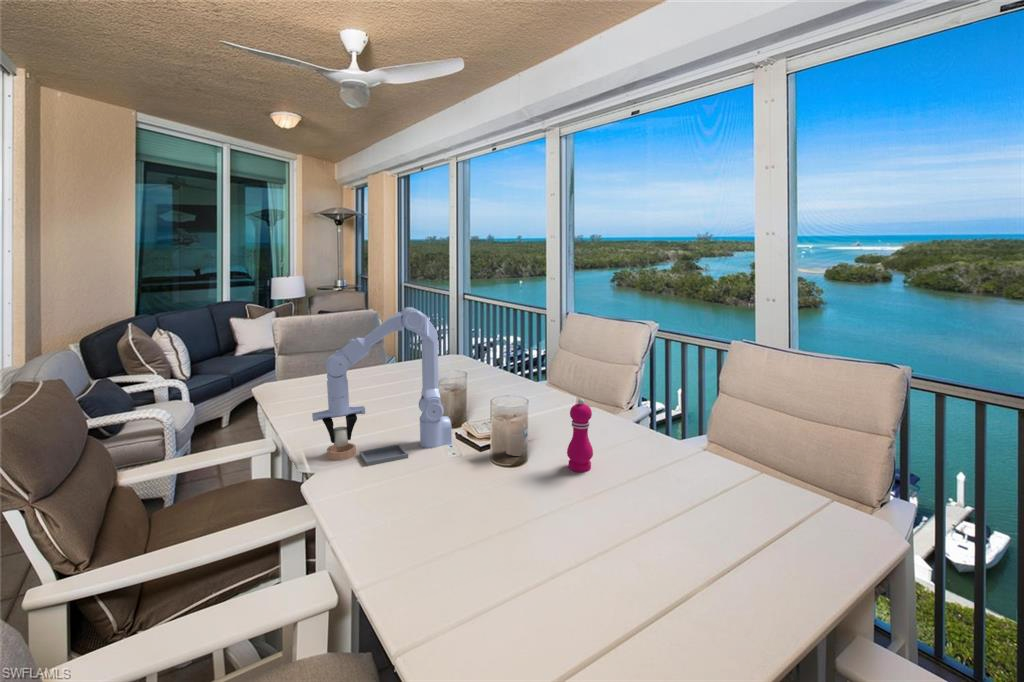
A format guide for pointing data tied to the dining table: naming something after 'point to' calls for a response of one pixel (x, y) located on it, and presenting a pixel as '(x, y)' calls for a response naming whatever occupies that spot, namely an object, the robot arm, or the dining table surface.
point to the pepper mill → (580, 438)
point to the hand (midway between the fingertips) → (340, 440)
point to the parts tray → (383, 455)
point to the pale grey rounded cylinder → (340, 436)
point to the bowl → (335, 455)
